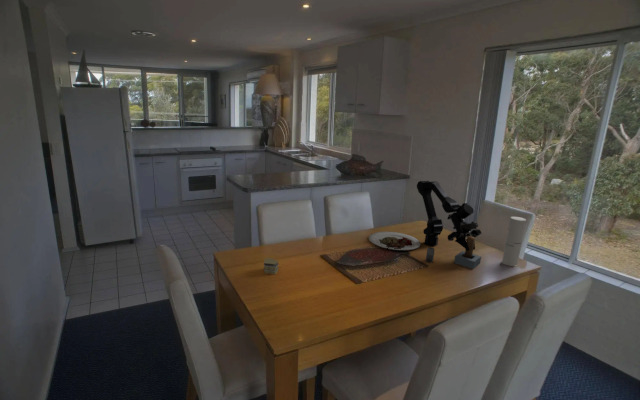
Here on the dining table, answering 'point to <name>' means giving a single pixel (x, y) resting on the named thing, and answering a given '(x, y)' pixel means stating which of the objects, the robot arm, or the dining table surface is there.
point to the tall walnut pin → (470, 247)
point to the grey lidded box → (270, 266)
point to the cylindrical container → (513, 241)
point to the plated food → (394, 240)
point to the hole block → (467, 260)
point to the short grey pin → (430, 254)
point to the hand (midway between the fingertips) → (471, 249)
